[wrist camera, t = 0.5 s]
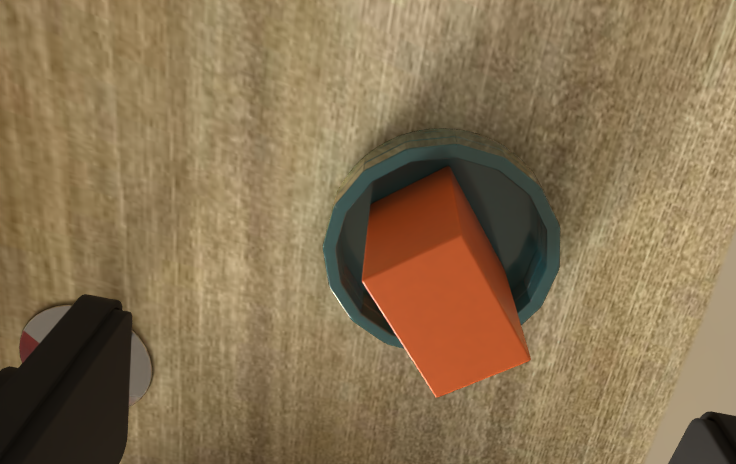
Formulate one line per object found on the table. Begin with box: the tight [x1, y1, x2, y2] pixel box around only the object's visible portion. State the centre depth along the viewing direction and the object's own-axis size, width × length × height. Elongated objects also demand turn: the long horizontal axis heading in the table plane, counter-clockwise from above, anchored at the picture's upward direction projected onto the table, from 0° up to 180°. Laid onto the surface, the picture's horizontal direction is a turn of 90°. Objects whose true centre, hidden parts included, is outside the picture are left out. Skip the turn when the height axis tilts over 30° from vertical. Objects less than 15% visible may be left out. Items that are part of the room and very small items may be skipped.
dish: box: [323, 128, 560, 349], centre depth 29 cm, size 10×10×2 cm
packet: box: [362, 166, 531, 397], centre depth 27 cm, size 4×6×7 cm, turn 29°
